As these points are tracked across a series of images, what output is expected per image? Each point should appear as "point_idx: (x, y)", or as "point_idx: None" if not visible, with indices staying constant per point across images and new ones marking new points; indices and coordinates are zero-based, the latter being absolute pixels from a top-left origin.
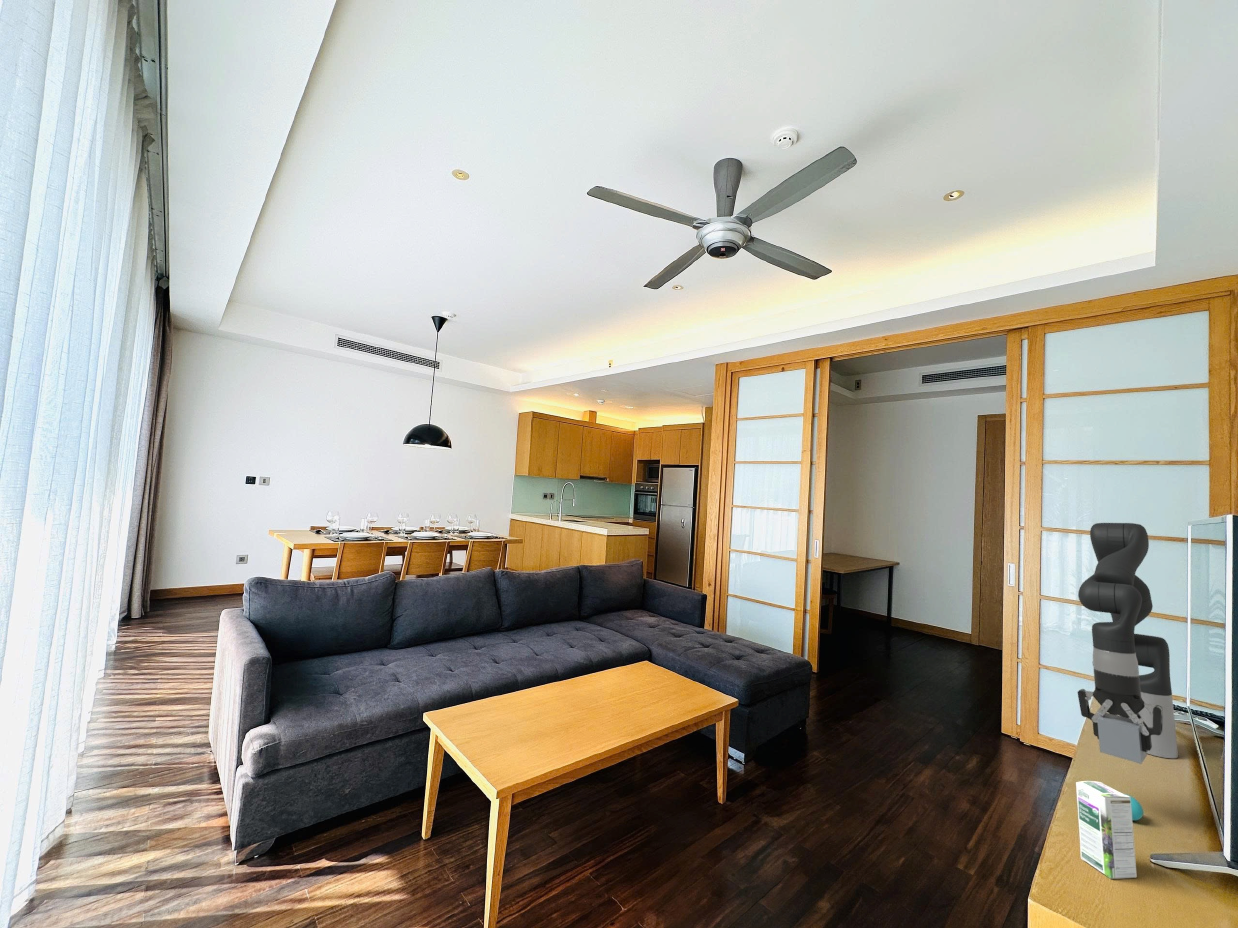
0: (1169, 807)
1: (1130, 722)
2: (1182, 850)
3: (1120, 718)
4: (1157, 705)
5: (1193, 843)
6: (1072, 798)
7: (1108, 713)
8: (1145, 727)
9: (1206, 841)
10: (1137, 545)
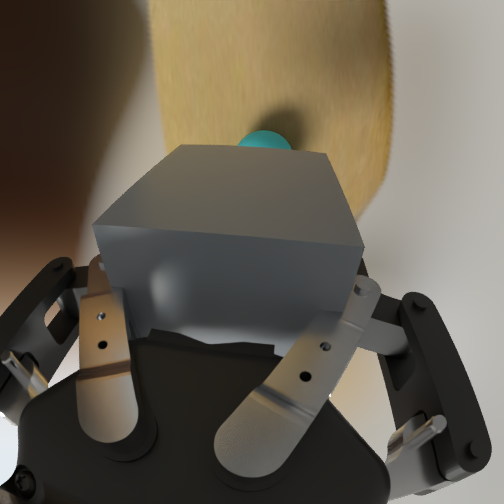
0: (329, 6)
1: (278, 331)
2: None
3: (213, 293)
4: (465, 475)
5: (365, 171)
6: (169, 147)
7: (121, 232)
8: (350, 359)
9: (386, 141)
10: None
